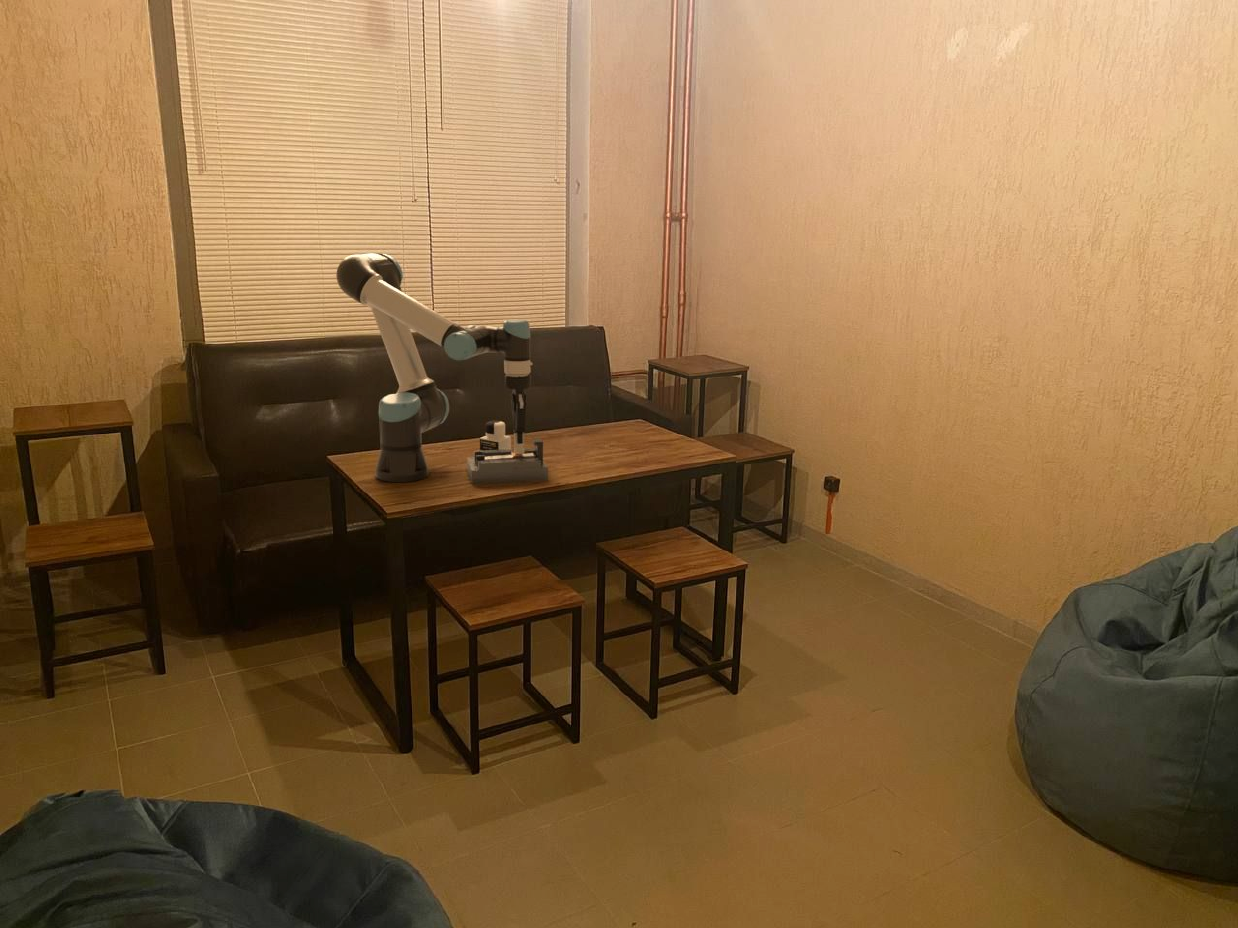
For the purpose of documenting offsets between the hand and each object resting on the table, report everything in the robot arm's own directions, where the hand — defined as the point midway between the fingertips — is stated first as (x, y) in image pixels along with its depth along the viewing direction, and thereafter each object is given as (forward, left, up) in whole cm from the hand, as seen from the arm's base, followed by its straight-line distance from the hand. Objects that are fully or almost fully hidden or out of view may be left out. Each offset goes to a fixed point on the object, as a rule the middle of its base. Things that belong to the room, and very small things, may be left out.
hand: (519, 453), depth 264 cm
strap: (-4, 0, -2) cm, 5 cm away
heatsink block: (-4, 0, -7) cm, 8 cm away
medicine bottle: (-5, +18, -7) cm, 20 cm away
